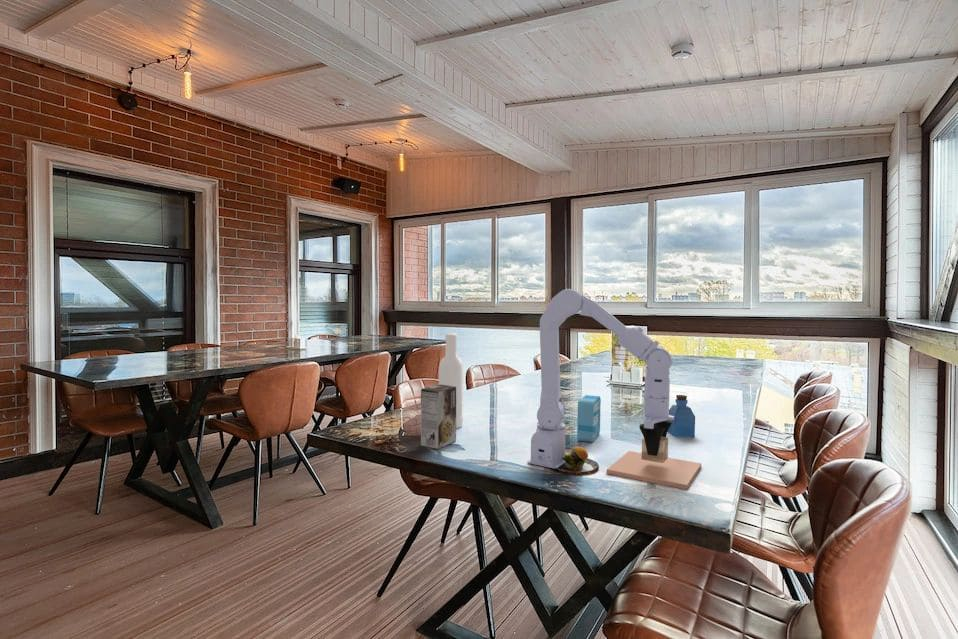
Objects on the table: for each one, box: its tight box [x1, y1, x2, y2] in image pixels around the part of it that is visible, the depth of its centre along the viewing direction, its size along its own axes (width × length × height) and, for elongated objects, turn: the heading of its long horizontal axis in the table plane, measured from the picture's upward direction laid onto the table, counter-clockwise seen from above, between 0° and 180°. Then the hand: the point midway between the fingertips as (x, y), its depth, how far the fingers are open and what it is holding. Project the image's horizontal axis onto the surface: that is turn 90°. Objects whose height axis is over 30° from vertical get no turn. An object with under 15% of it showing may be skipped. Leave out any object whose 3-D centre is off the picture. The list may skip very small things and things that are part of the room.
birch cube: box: [641, 436, 669, 463], centre depth 122 cm, size 5×5×5 cm
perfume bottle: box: [667, 394, 696, 438], centre depth 157 cm, size 6×6×12 cm
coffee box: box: [420, 384, 457, 450], centre depth 143 cm, size 9×6×16 cm
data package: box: [576, 394, 601, 443], centre depth 151 cm, size 12×4×12 cm, turn 156°
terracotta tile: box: [606, 450, 702, 490], centre depth 123 cm, size 18×18×1 cm
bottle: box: [438, 333, 464, 430], centre depth 163 cm, size 8×8×30 cm
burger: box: [555, 444, 600, 476], centre depth 124 cm, size 12×12×8 cm
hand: (655, 452), depth 122 cm, fingers closed on birch cube, 5 cm apart
